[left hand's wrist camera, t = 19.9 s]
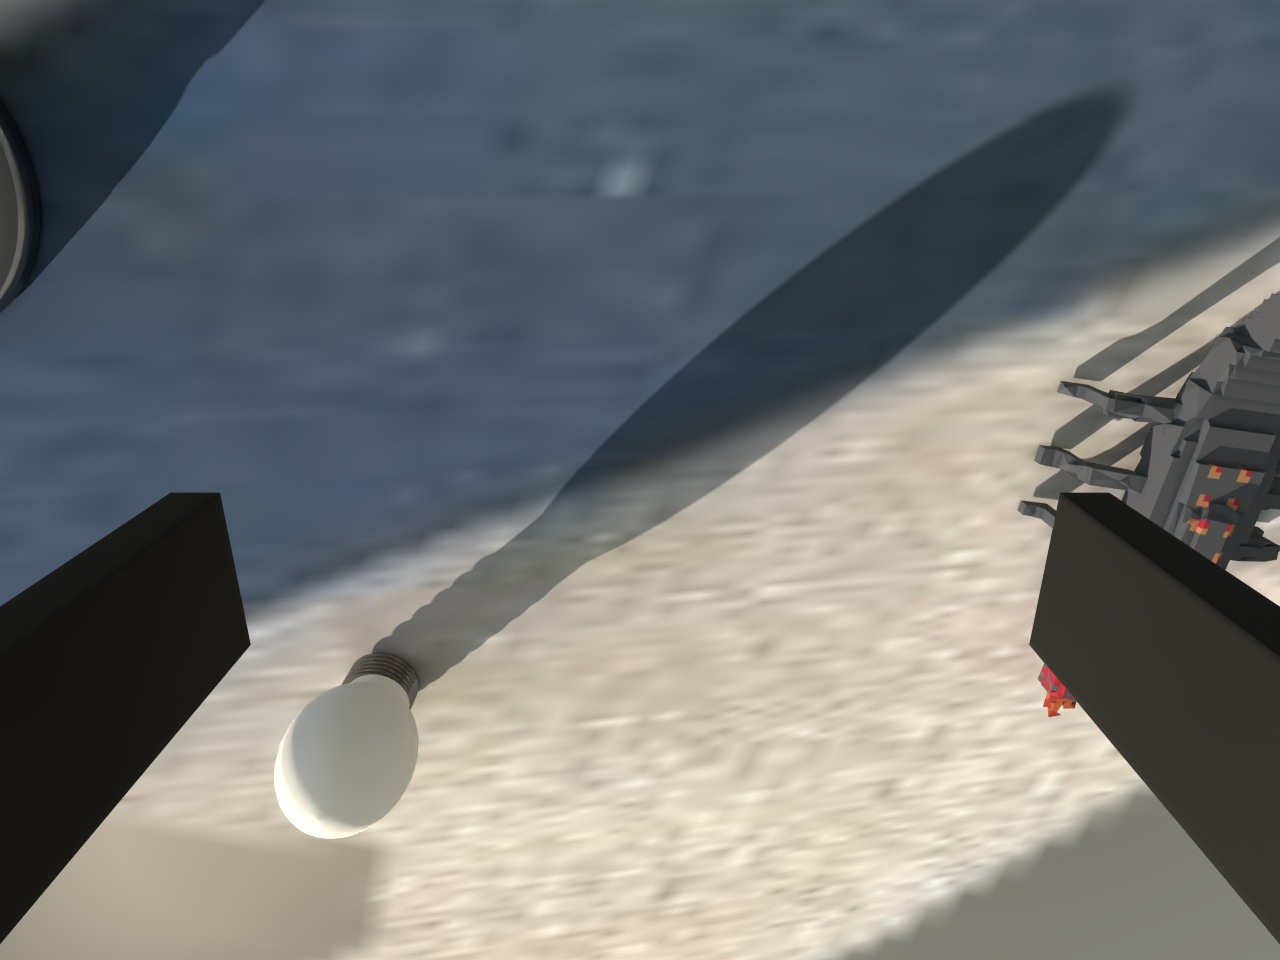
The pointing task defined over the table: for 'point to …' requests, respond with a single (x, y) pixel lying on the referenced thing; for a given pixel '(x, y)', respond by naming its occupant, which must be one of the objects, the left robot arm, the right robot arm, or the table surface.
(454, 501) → the table surface
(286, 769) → the light bulb
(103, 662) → the left robot arm
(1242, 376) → the toy
